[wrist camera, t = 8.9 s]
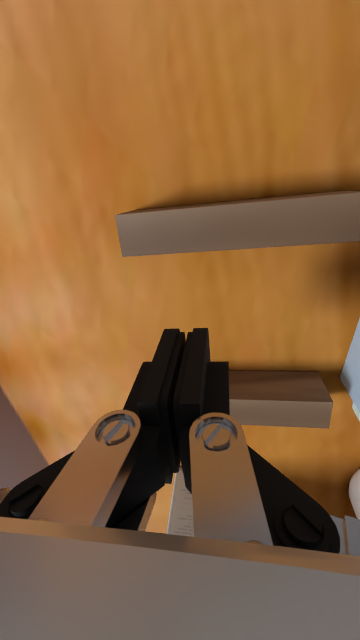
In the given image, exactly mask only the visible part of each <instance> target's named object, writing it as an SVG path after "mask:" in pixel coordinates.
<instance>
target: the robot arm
mask: <svg viewBox="0 0 360 640" xmlns="http://www.w3.org/2000/svg"><path fill="white" fill-rule="evenodd" d="M180 461H181V465H182V471H183V475H184V481H185V487H186V488H187V490H188V491H189V492H190V493H191V494H192V503H193V523H194V537H191V536H182V535H173V534H163V533H154V532H145V529H146V526H147V523H148V521H149V518H150V515H151V512H152V509H153V506H154V504H155V500H156V492H157V491H158V490H159V489H160V488H162V487H163V486H164V485H165V483H168V484H171V483H172V477H173V473H178V472H179V468H180ZM0 640H360V519H356V518H353V517H350V516H346V515H345V517H344V519H341V518H338V517H335V516H331V515H329V514H328V513H327V512H326V511H325V510H324V508H323V507H322V506H321V505H319V504H318V503H317V502H316V501H315V500H313V499H312V498H311V497H310V496H309V495H307V494H306V493H305V492H304V491H302V490H301V489H300V488H299V487H298V486H296V485H295V484H294V483H293V482H292V481H290V480H289V479H288V478H287V477H285V476H284V475H283V474H282V473H281V472H279V471H278V470H277V469H276V468H275V467H273V466H272V465H271V464H270V463H268V462H267V461H266V460H265V459H264V458H262V457H261V456H260V455H259V454H258V453H256V452H255V451H254V450H253V449H251V448H250V447H249V446H248V445H247V443H246V439H245V435H244V431H243V429H242V427H241V425H240V423H239V422H238V421H237V420H236V419H235V418H233V417H231V416H230V401H229V364H228V362H210V349H209V333H208V328H194V329H193V332H188V335H187V339H186V340H185V333H184V332H180V330H179V329H164V331H163V334H162V337H161V339H160V342H159V345H158V347H157V350H156V353H155V355H154V358H153V360H152V362H143V364H142V366H141V368H140V370H139V373H138V375H137V377H136V380H135V382H134V384H133V387H132V389H131V392H130V394H129V396H128V399H127V401H126V403H125V406H124V408H123V410H116V411H112V412H109V413H107V414H105V415H103V416H102V417H101V418H99V419H98V420H97V421H96V422H95V423H94V425H93V426H92V427H91V429H90V430H89V432H88V433H87V435H86V436H85V437H84V439H83V440H82V442H81V443H80V445H79V446H78V448H77V449H76V450H75V451H73V452H71V453H70V454H68V455H66V456H65V457H63V458H61V459H60V460H58V461H56V462H55V463H53V464H51V465H49V466H48V467H46V468H45V469H43V470H41V471H39V472H38V473H36V474H34V475H33V476H31V477H29V478H28V479H26V480H24V481H23V482H21V483H20V484H18V485H17V486H16V487H14V488H13V489H12V490H9V488H8V487H3V488H0Z"/></svg>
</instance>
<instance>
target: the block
mask: <svg viewBox="0 0 360 640" xmlns="http://www.w3.org/2000/svg"><path fill="white" fill-rule="evenodd" d="M340 380H341V381H342V383H343V385H344V387H345V388H346V390H347V392H348V393H349V395H350V397H351V399H352V400H353V402H354V404H355V405H356V407H357V409H358V411H359V412H360V319H359V322H358V325H357V328H356V331H355V334H354V337H353V340H352V343H351V346H350V349H349V352H348V355H347V358H346V361H345V364H344V367H343V370H342V373H341V376H340Z"/></svg>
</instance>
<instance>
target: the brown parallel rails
mask: <svg viewBox="0 0 360 640" xmlns="http://www.w3.org/2000/svg"><path fill="white" fill-rule="evenodd" d="M115 218H116V223H117V229H118V234H119V240H120V245H121V251H122V257H127V256H142V255H158V254H173V253H188V252H204V251H219V250H235V249H250V248H265V247H281V246H296V245H312V244H327V243H343V242H358V241H360V191H332V192H322V193H311V194H301V195H290V196H280V197H269V198H259V199H248V200H238V201H227V202H217V203H206V204H196V205H185V206H175V207H164V208H154V209H143V210H133V211H129V212H125V213H121V214H117V215H115ZM229 401H230V416H231V417H233V418H235V419H236V420H237V421H238V422H239V423H240V425H262V426H285V427H308V428H329V424H330V418H331V412H332V406H333V401H332V399H331V397H330V395H329V393H328V391H327V389H326V387H325V385H324V382H323V380H322V378H321V376H320V374H319V372H318V371H229Z"/></svg>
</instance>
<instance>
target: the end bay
mask: <svg viewBox="0 0 360 640" xmlns="http://www.w3.org/2000/svg"><path fill="white" fill-rule="evenodd" d="M352 409H353V410H354V412H355V414H356V416H357V418H358V419H359V421H360V412H359V411H358V409H357V407H356V405H355V404H354V402H353V405H352Z"/></svg>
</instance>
